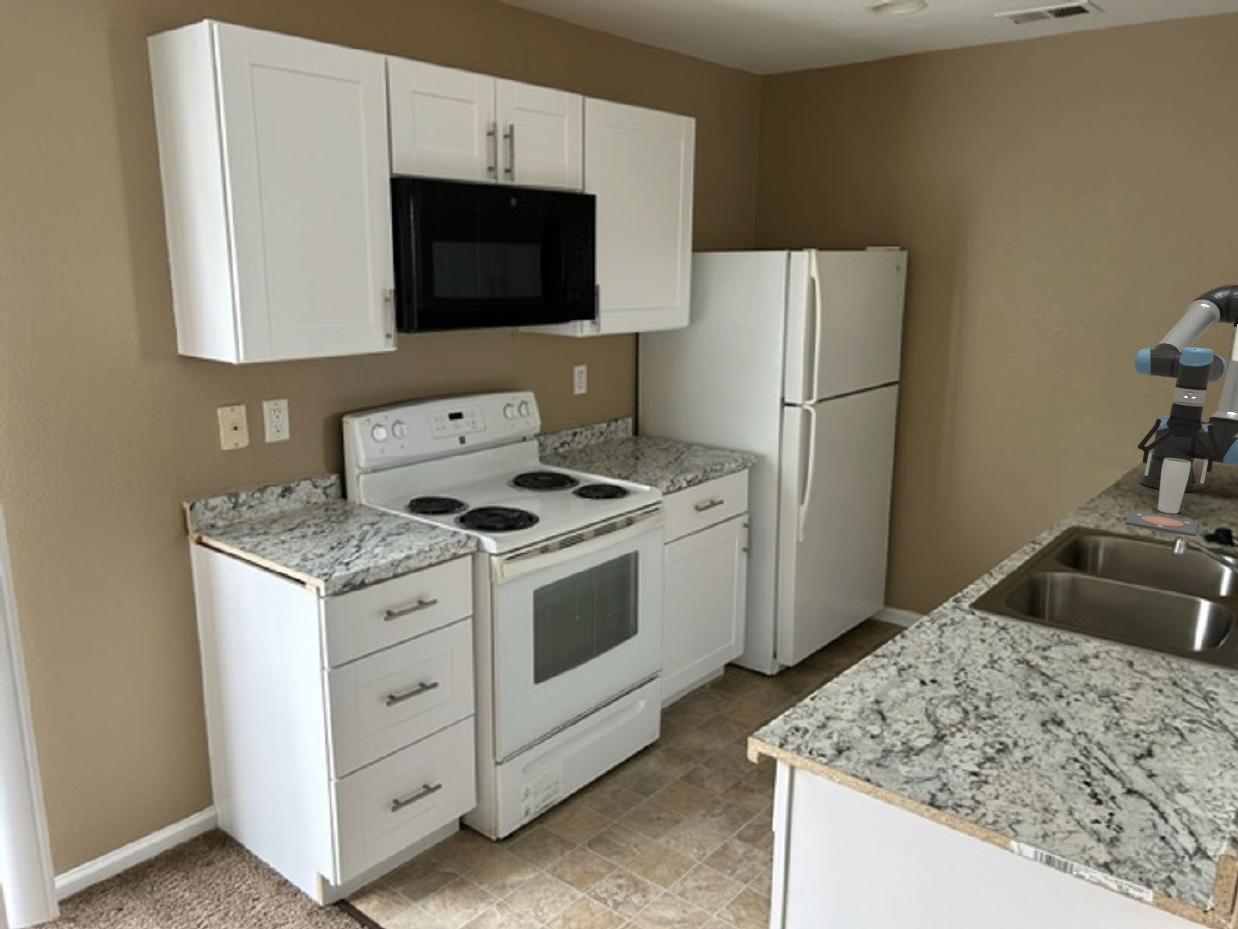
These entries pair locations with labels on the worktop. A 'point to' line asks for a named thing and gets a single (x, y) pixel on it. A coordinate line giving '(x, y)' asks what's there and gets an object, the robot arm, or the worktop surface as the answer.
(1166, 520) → the coaster mat
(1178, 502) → the drinking glass
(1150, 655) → the worktop surface
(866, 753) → the worktop surface
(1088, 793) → the worktop surface
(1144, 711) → the worktop surface
